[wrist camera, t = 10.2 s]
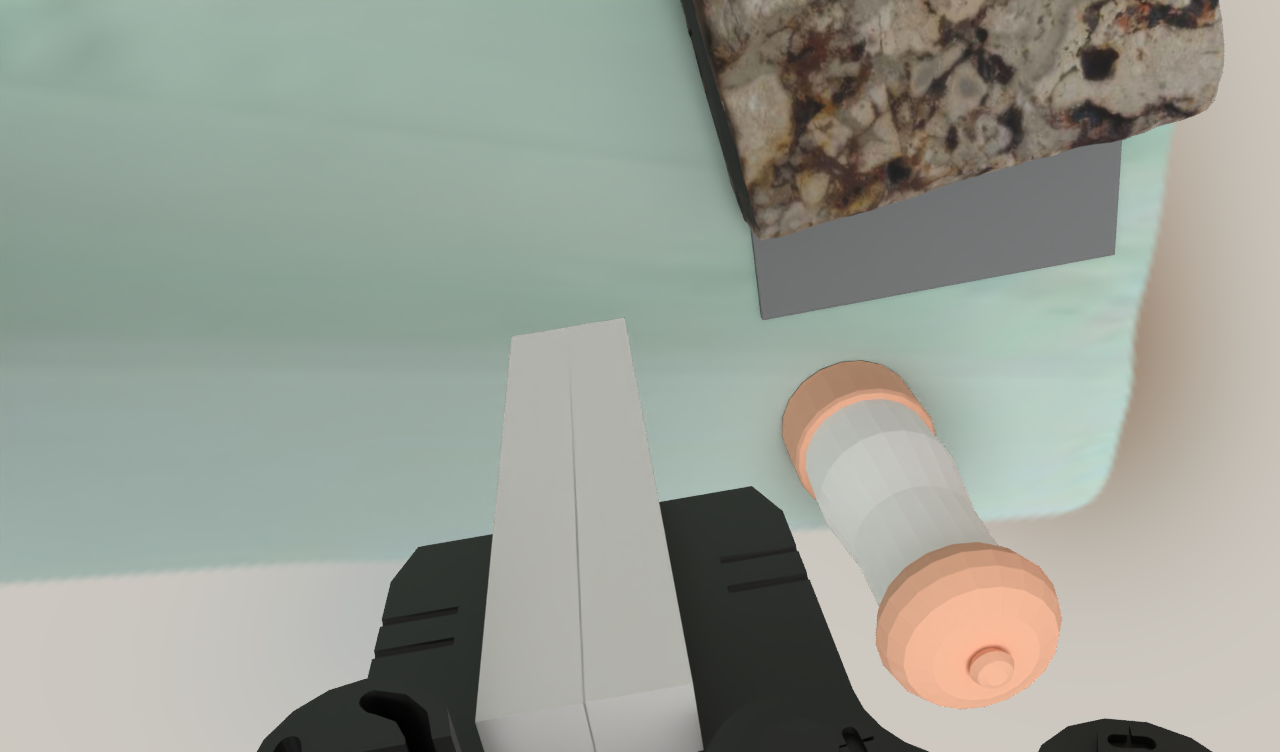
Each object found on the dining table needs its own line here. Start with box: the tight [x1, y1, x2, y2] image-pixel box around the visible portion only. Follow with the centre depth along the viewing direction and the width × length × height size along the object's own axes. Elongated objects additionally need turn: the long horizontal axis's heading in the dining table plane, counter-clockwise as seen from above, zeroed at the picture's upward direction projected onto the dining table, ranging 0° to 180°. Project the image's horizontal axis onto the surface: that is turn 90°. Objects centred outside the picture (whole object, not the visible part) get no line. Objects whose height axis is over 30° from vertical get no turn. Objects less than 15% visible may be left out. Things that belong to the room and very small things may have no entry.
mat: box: [751, 140, 1122, 320], centre depth 42 cm, size 18×22×1 cm
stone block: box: [681, 0, 1224, 241], centre depth 39 cm, size 13×7×20 cm
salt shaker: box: [782, 361, 1062, 709], centre depth 42 cm, size 7×7×19 cm
